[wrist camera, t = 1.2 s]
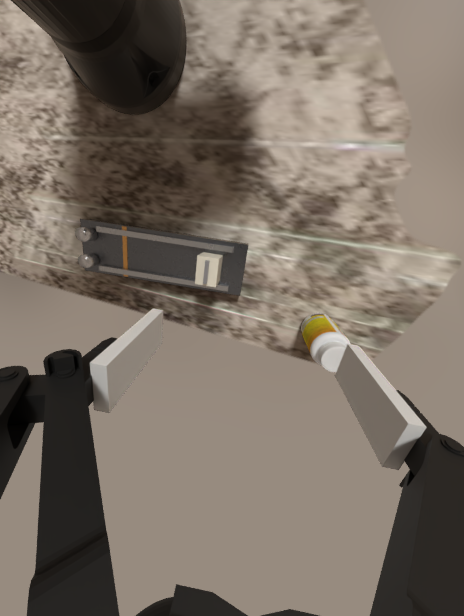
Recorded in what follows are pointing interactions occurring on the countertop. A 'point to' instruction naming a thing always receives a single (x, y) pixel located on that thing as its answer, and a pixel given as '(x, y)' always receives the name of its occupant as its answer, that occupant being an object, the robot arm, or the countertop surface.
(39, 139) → the countertop surface
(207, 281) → the fader tab
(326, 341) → the supplement bottle
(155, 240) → the console
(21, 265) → the countertop surface
